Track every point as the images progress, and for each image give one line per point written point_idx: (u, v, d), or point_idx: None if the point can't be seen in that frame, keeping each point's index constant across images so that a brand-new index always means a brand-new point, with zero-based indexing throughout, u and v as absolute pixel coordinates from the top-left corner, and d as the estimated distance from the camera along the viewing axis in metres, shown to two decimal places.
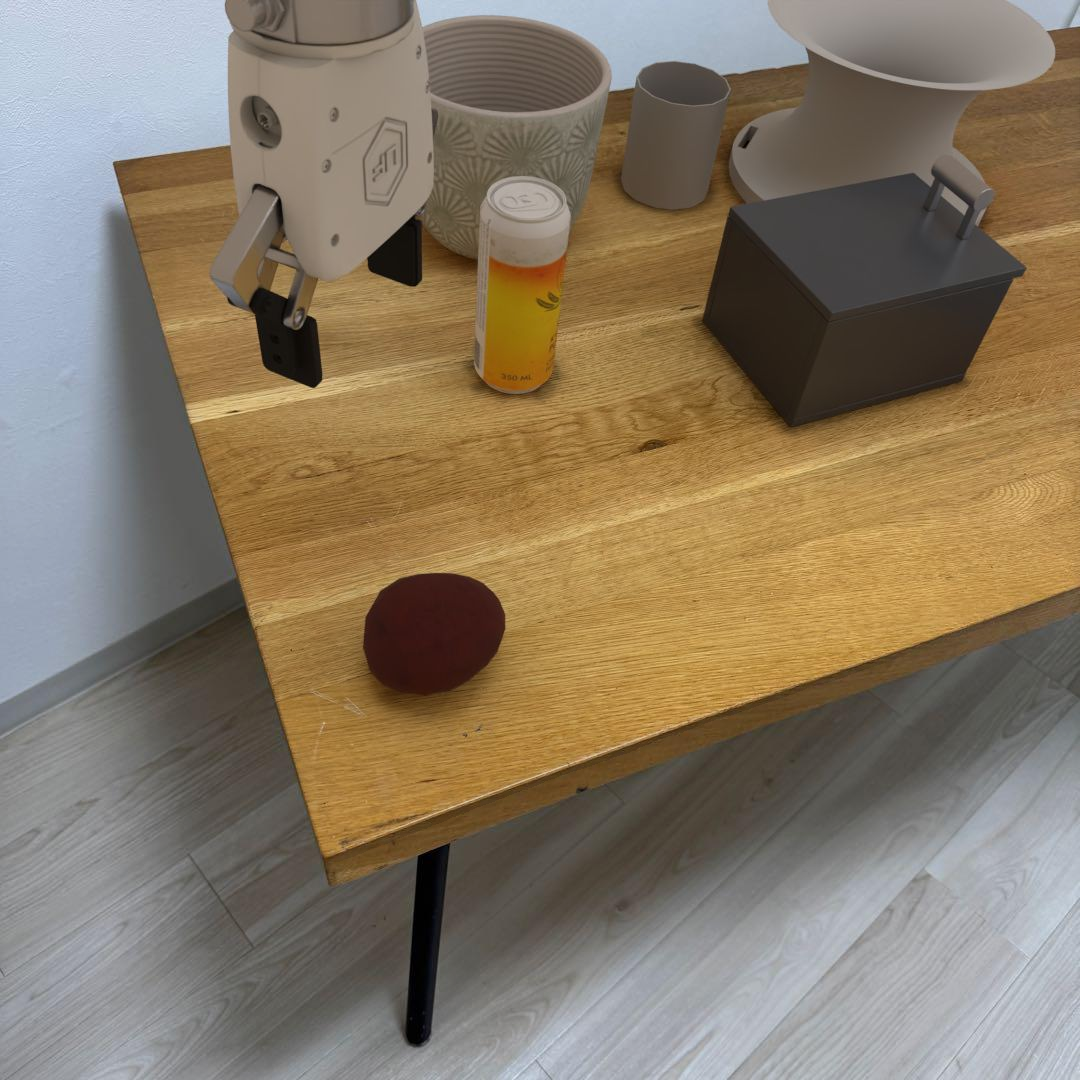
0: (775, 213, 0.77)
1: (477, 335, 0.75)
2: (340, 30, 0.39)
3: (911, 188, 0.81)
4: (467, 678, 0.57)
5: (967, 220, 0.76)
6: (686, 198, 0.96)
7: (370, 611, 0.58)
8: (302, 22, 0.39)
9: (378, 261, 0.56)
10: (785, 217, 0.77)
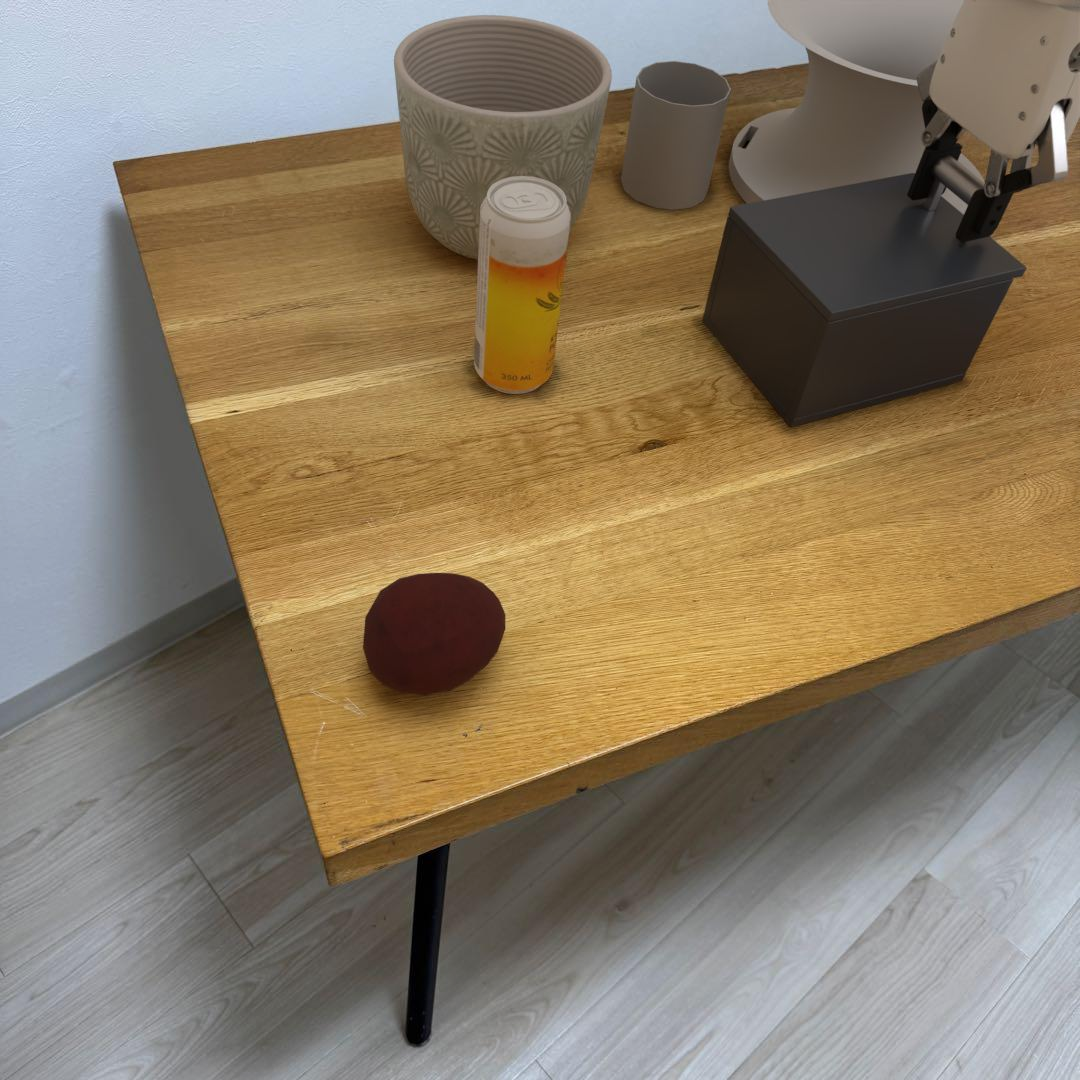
0: (775, 213, 0.77)
1: (477, 335, 0.75)
2: None
3: None
4: (467, 678, 0.57)
5: None
6: (686, 198, 0.96)
7: (370, 611, 0.58)
8: None
9: (924, 188, 0.78)
10: (785, 217, 0.77)
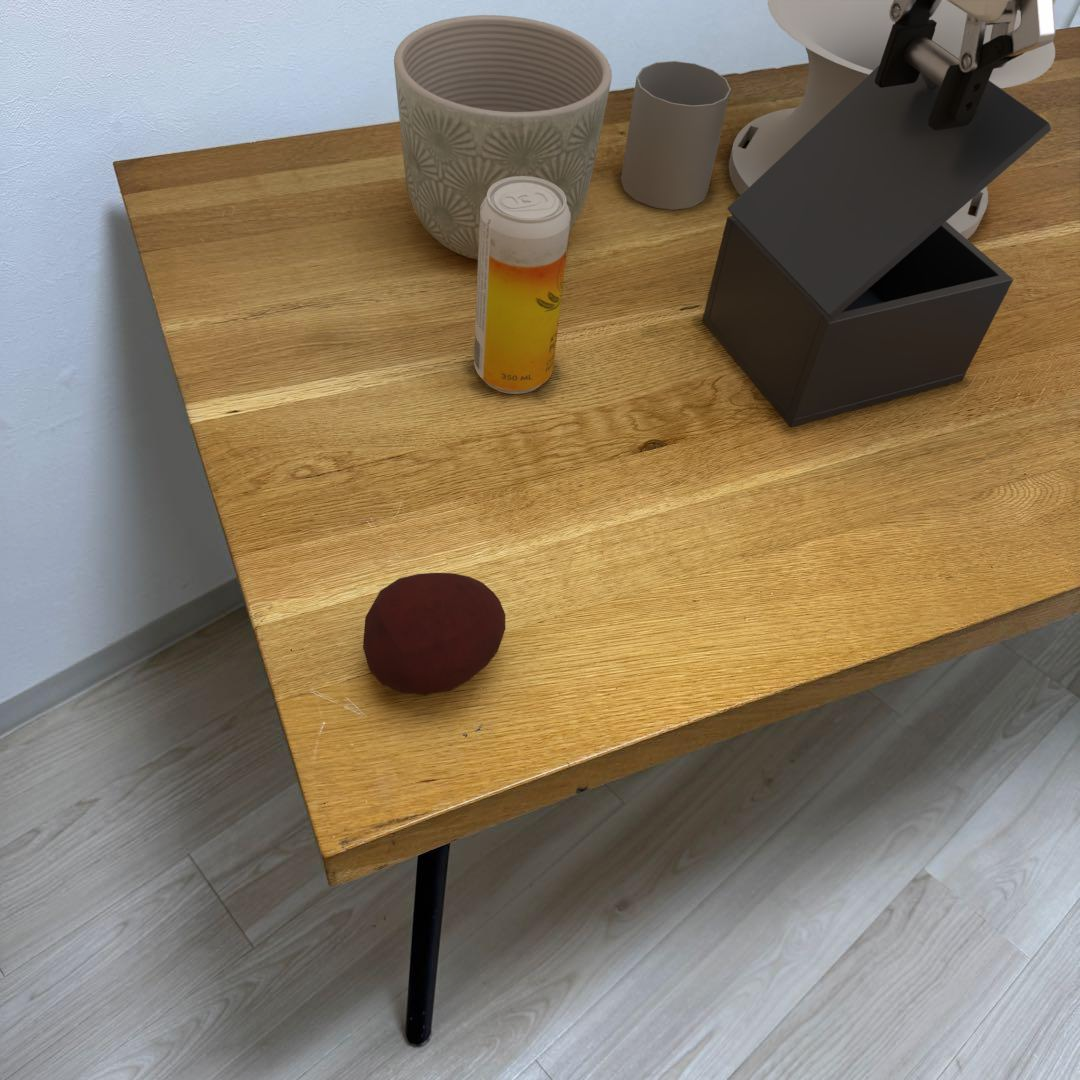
0: (769, 193, 0.75)
1: (477, 335, 0.75)
2: None
3: None
4: (467, 678, 0.57)
5: None
6: (686, 198, 0.96)
7: (370, 611, 0.58)
8: None
9: (894, 73, 0.69)
10: (779, 193, 0.75)
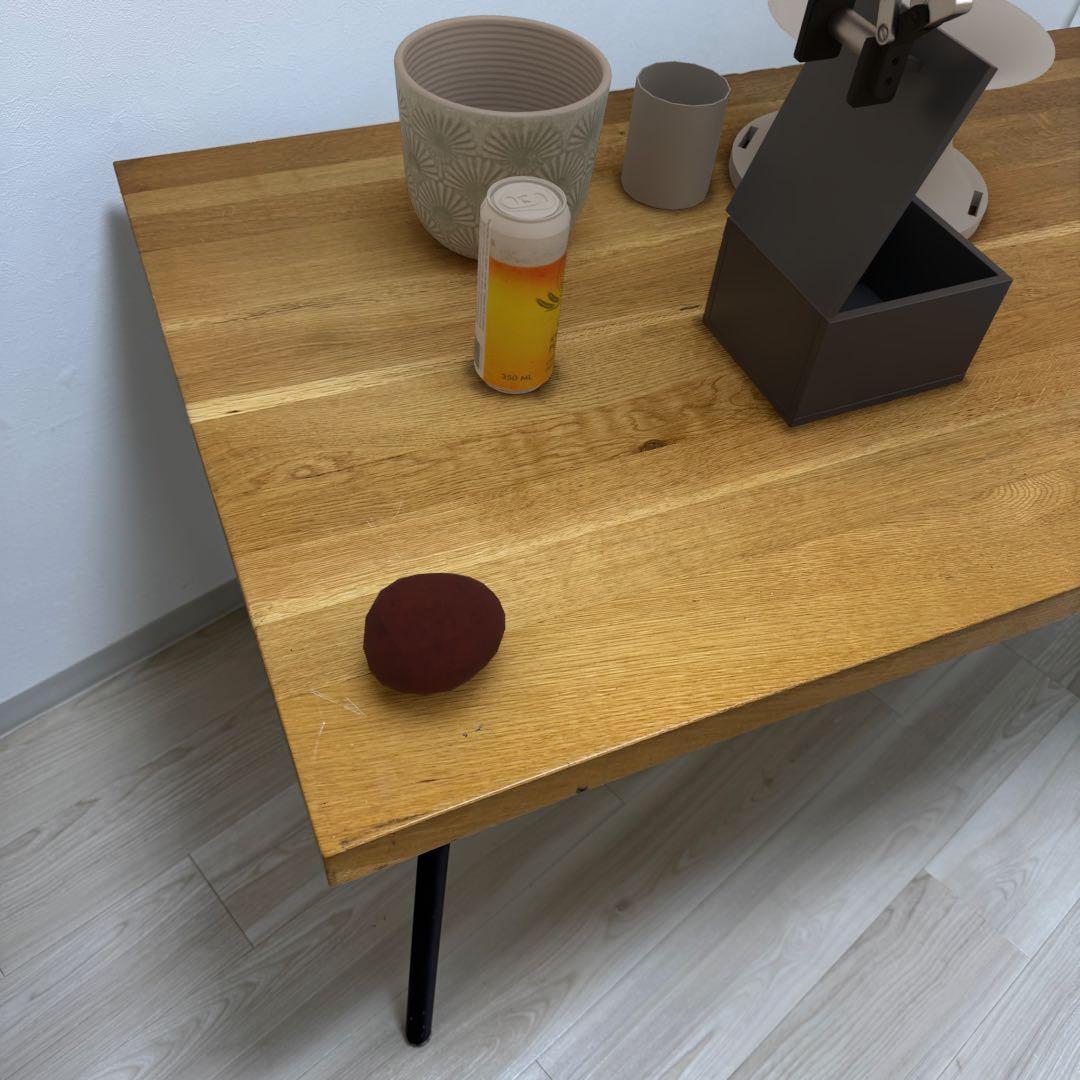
0: (757, 188, 0.74)
1: (477, 335, 0.75)
2: None
3: (857, 11, 0.67)
4: (467, 678, 0.57)
5: None
6: (686, 198, 0.96)
7: (370, 611, 0.58)
8: None
9: (813, 47, 0.64)
10: (765, 187, 0.74)
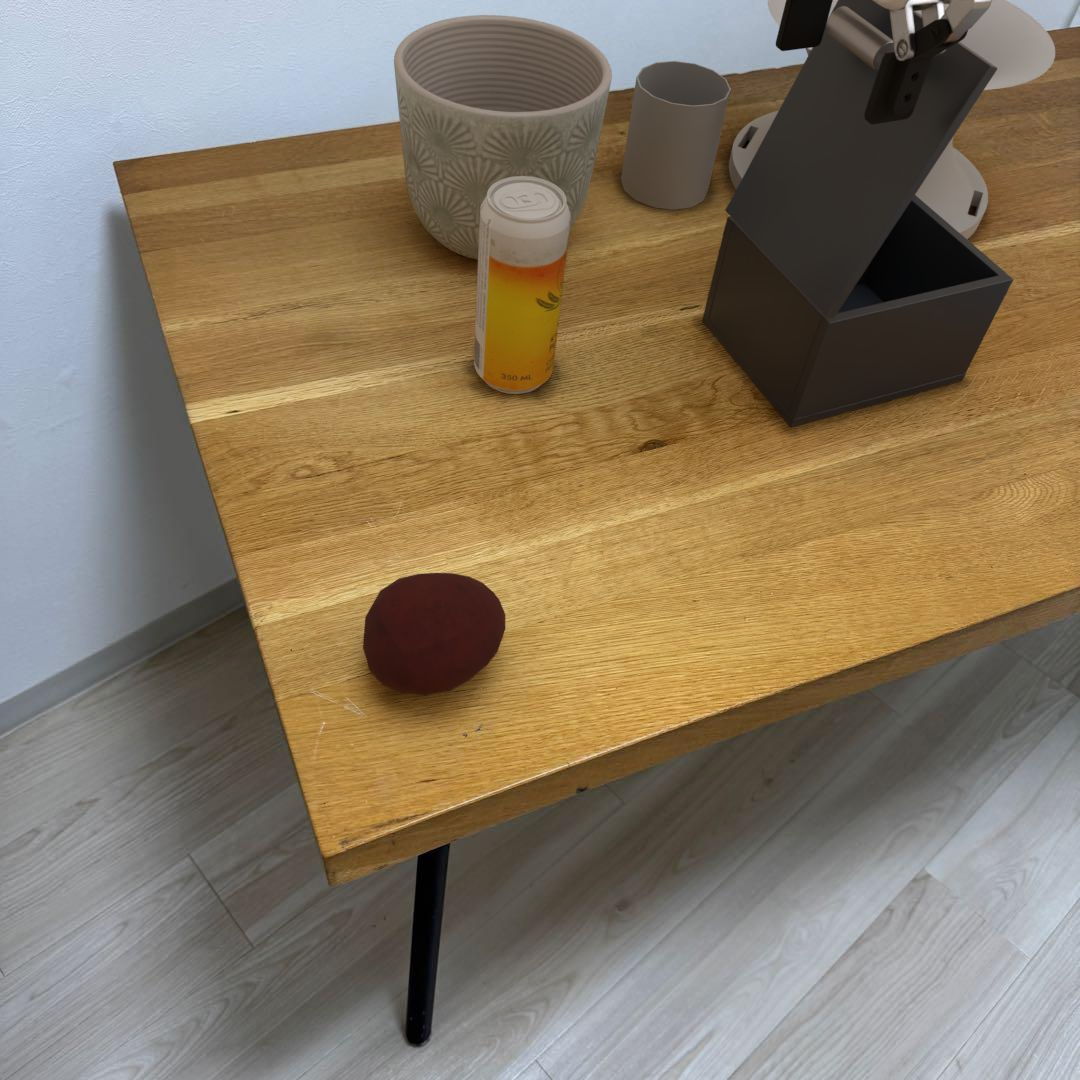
0: (757, 188, 0.74)
1: (477, 335, 0.75)
2: None
3: (856, 11, 0.67)
4: (467, 678, 0.57)
5: None
6: (686, 198, 0.96)
7: (370, 611, 0.58)
8: None
9: (794, 35, 0.66)
10: (765, 187, 0.74)
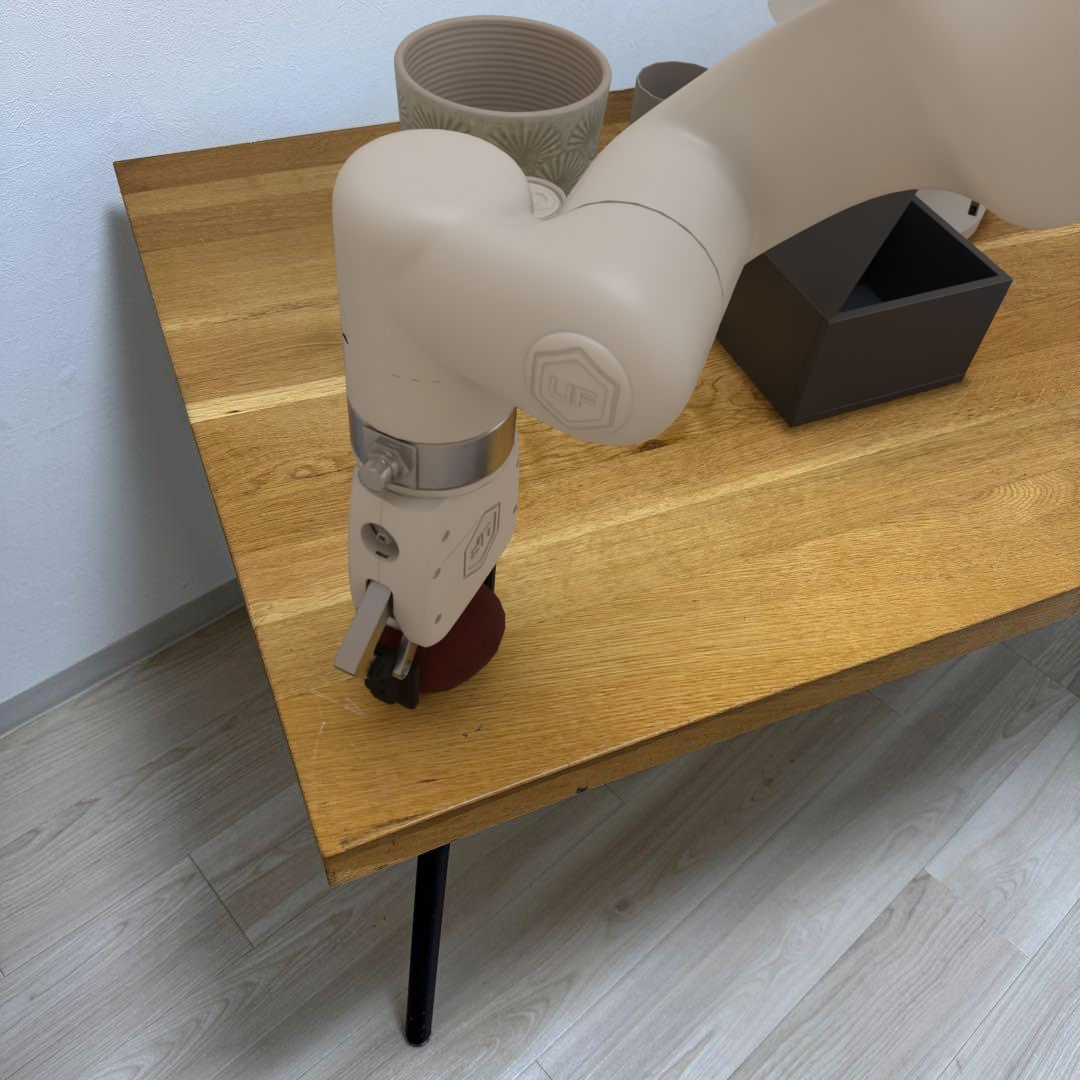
0: None
1: None
2: (456, 479, 0.44)
3: None
4: (466, 677, 0.58)
5: None
6: None
7: None
8: (423, 476, 0.44)
9: None
10: None
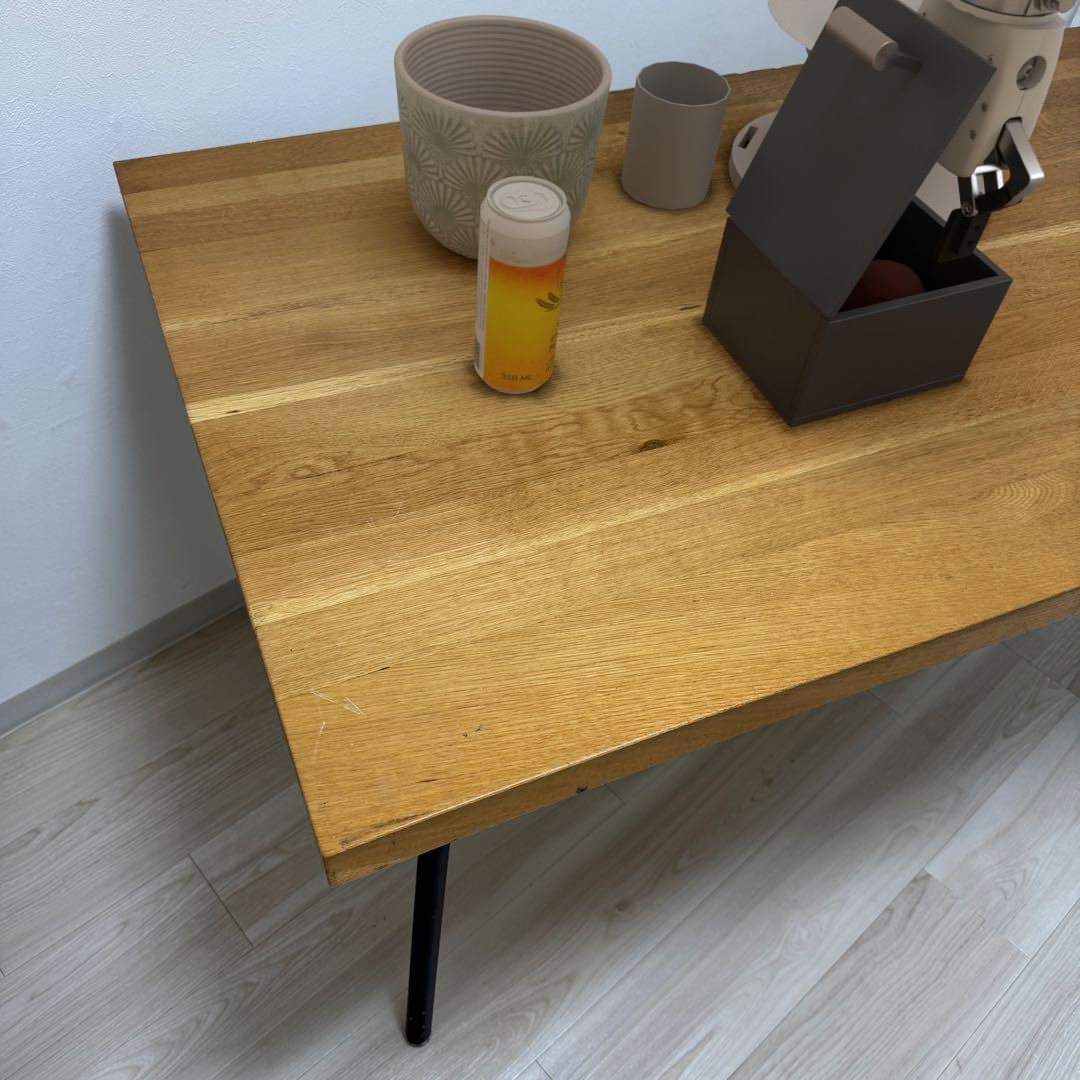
0: (757, 188, 0.74)
1: (477, 335, 0.75)
2: None
3: (856, 11, 0.67)
4: None
5: (898, 66, 0.62)
6: (686, 198, 0.96)
7: None
8: None
9: None
10: (765, 187, 0.74)
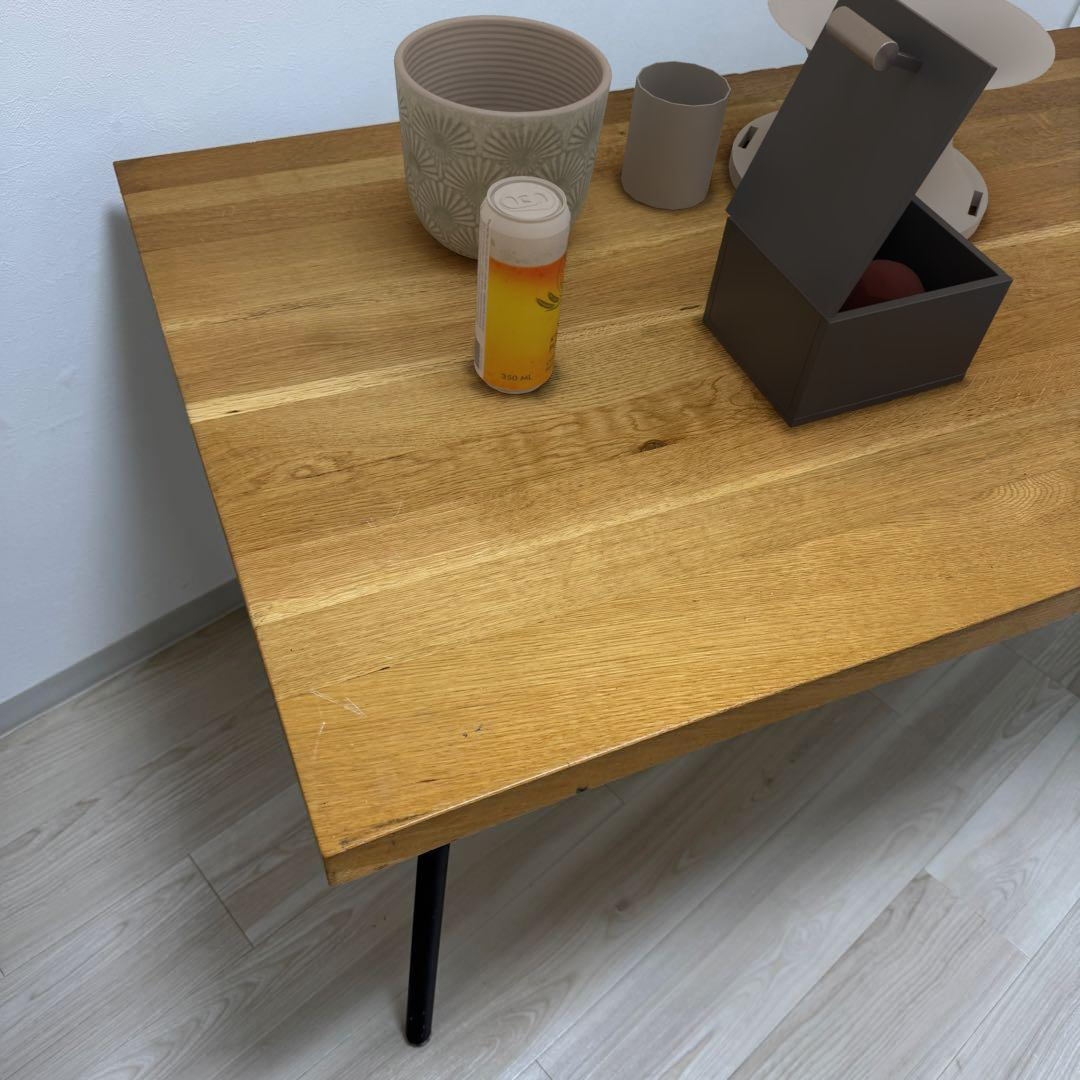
0: (757, 188, 0.74)
1: (477, 335, 0.75)
2: None
3: (856, 11, 0.67)
4: None
5: (898, 66, 0.62)
6: (686, 198, 0.96)
7: None
8: None
9: None
10: (765, 187, 0.74)
